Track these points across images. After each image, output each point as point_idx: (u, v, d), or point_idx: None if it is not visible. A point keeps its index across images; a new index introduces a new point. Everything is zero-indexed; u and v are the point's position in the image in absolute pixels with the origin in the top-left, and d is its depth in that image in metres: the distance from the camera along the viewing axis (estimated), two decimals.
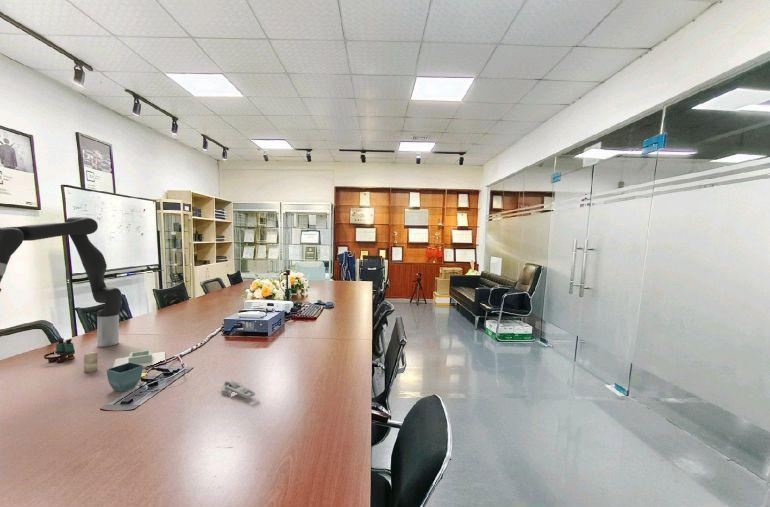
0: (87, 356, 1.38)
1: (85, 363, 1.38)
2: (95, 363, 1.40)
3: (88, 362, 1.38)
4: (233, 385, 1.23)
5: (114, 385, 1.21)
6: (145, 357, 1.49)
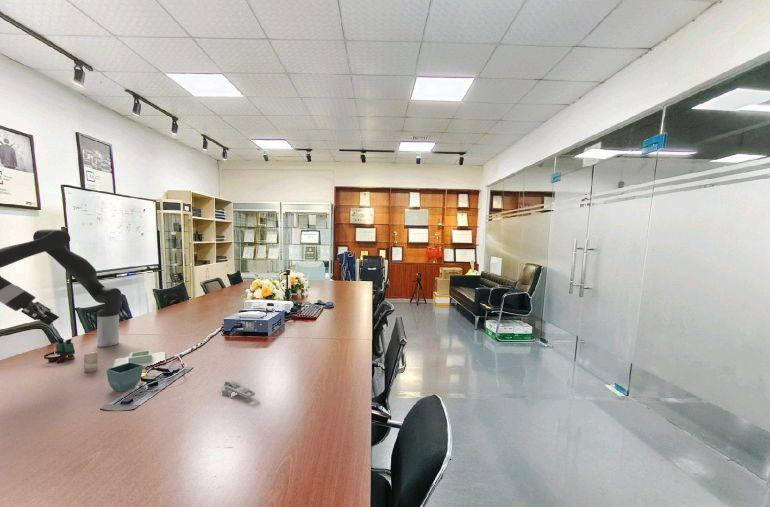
0: (87, 356, 1.38)
1: (85, 363, 1.38)
2: (95, 363, 1.40)
3: (88, 362, 1.38)
4: (233, 385, 1.23)
5: (114, 385, 1.21)
6: (145, 357, 1.49)
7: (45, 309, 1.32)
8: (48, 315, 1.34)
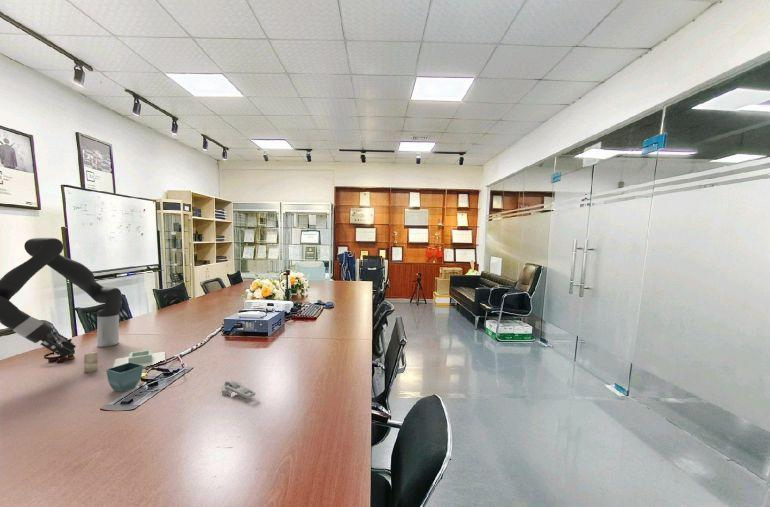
0: (87, 356, 1.38)
1: (85, 363, 1.38)
2: (95, 363, 1.40)
3: (88, 362, 1.38)
4: (233, 385, 1.23)
5: (114, 385, 1.21)
6: (145, 357, 1.49)
7: (63, 339, 1.36)
8: (65, 345, 1.37)
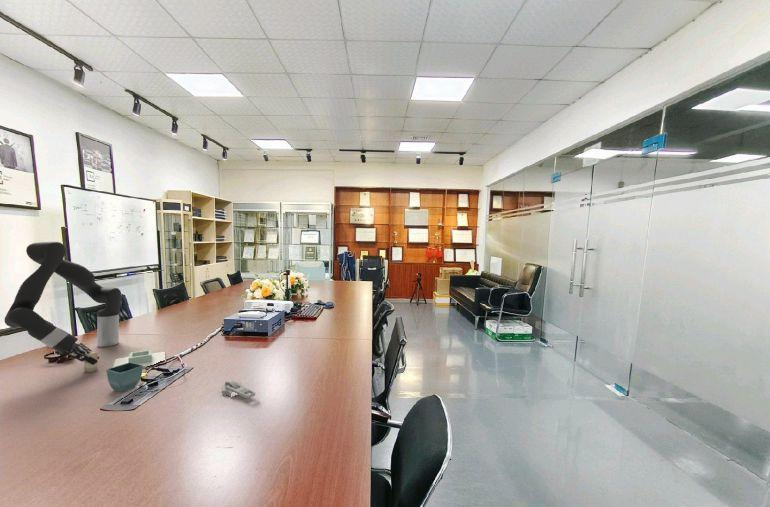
0: None
1: (85, 363, 1.38)
2: None
3: None
4: (233, 385, 1.23)
5: (114, 385, 1.21)
6: (145, 357, 1.49)
7: (86, 350, 1.40)
8: None
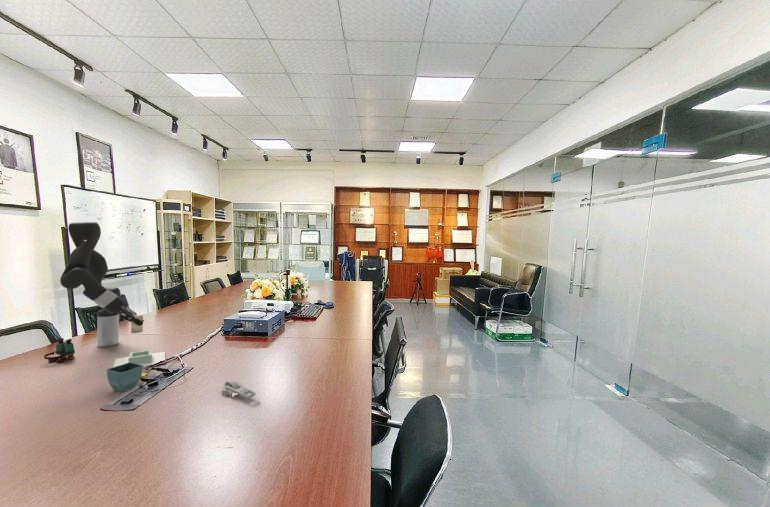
0: None
1: (132, 324, 1.47)
2: (141, 325, 1.49)
3: None
4: (233, 385, 1.23)
5: (114, 385, 1.21)
6: (145, 357, 1.49)
7: (133, 312, 1.50)
8: None
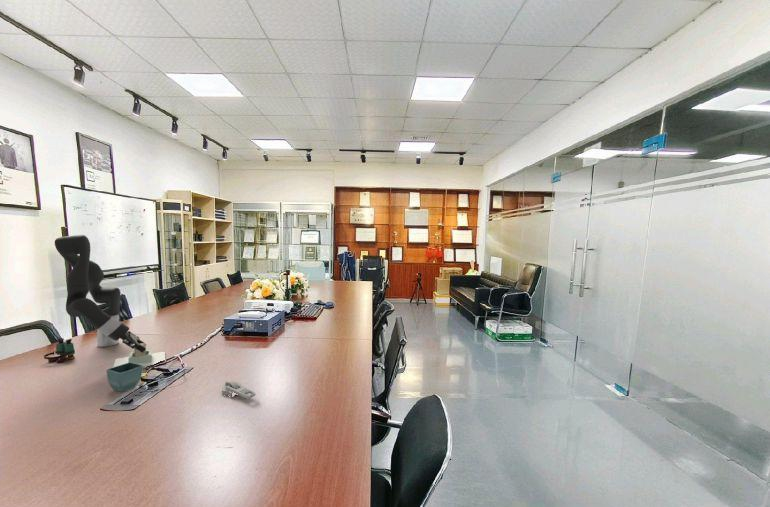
0: None
1: (135, 353, 1.49)
2: (144, 353, 1.51)
3: (138, 353, 1.49)
4: (234, 385, 1.23)
5: (114, 385, 1.21)
6: (145, 357, 1.49)
7: (136, 338, 1.52)
8: (138, 343, 1.53)
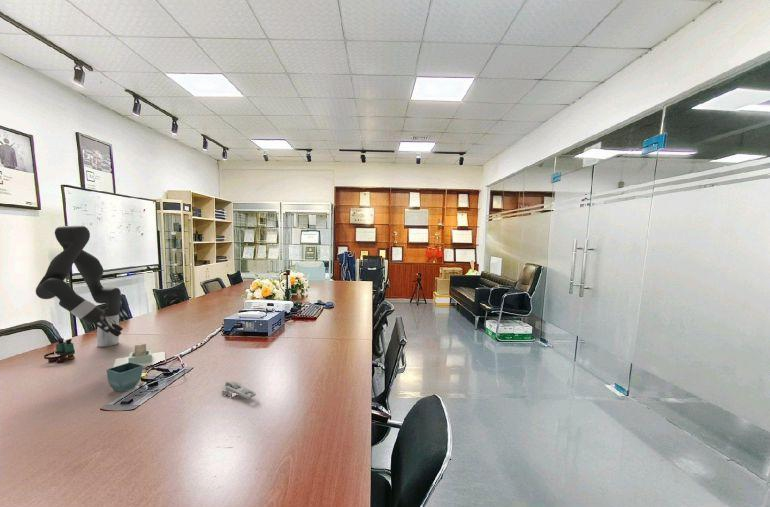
0: (137, 347, 1.49)
1: (136, 353, 1.49)
2: (144, 353, 1.51)
3: (138, 353, 1.49)
4: (234, 386, 1.23)
5: (114, 385, 1.21)
6: (145, 357, 1.49)
7: (112, 322, 1.46)
8: (114, 327, 1.48)
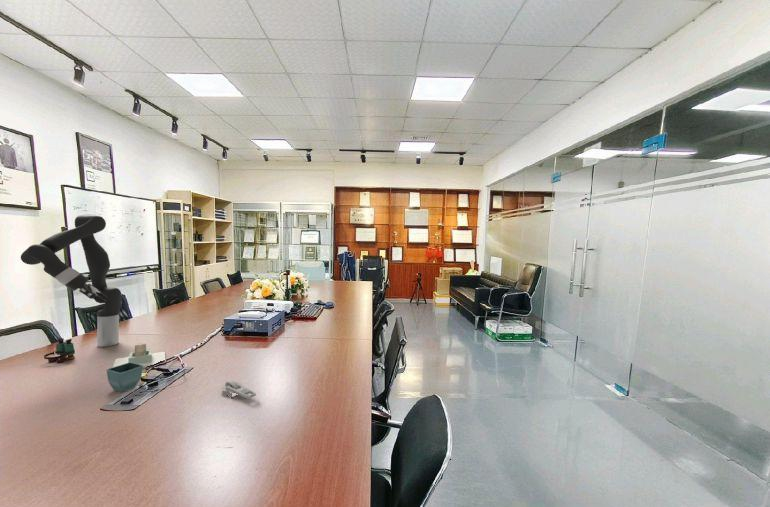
0: (137, 347, 1.49)
1: (136, 353, 1.49)
2: (144, 353, 1.51)
3: (138, 353, 1.49)
4: (234, 386, 1.23)
5: (114, 385, 1.21)
6: (145, 357, 1.49)
7: (96, 290, 1.51)
8: (98, 295, 1.52)
